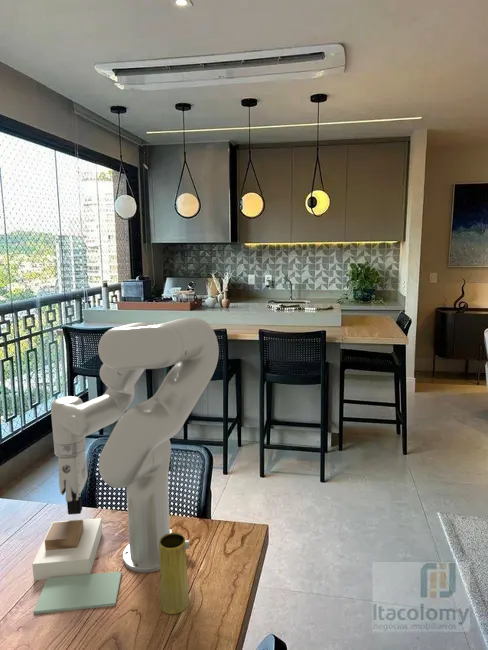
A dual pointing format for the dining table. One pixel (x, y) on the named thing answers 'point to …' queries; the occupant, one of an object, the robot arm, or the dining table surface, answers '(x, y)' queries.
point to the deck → (70, 554)
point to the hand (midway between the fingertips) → (75, 512)
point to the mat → (79, 592)
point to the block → (64, 535)
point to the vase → (173, 574)
